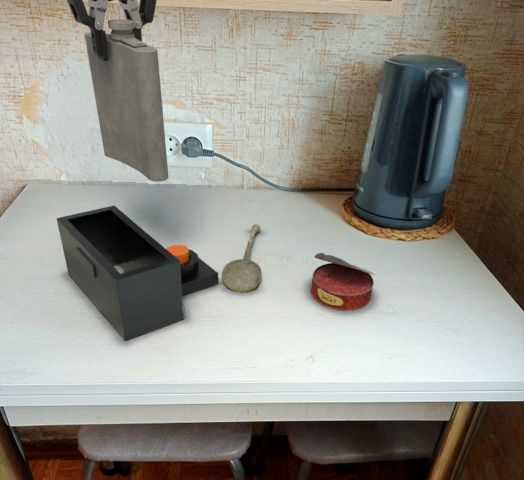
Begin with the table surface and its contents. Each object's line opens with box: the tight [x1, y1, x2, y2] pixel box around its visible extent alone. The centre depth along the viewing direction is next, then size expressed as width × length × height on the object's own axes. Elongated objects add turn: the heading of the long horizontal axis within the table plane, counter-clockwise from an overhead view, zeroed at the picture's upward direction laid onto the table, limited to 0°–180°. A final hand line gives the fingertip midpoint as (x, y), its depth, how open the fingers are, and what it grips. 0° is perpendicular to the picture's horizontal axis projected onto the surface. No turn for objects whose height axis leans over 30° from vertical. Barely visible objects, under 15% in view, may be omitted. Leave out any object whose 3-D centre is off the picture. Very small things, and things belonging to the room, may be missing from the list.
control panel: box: [180, 248, 219, 297], centre depth 83 cm, size 9×10×4 cm
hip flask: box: [84, 18, 169, 183], centre depth 76 cm, size 16×4×20 cm, turn 44°
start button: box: [166, 244, 189, 264], centre depth 82 cm, size 4×4×2 cm
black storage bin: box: [56, 205, 184, 342], centre depth 76 cm, size 10×21×10 cm, turn 37°
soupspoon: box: [221, 223, 262, 293], centre depth 90 cm, size 22×3×7 cm
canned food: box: [310, 252, 376, 312], centre depth 82 cm, size 11×10×10 cm
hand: (119, 58), depth 74 cm, fingers closed on hip flask, 4 cm apart
